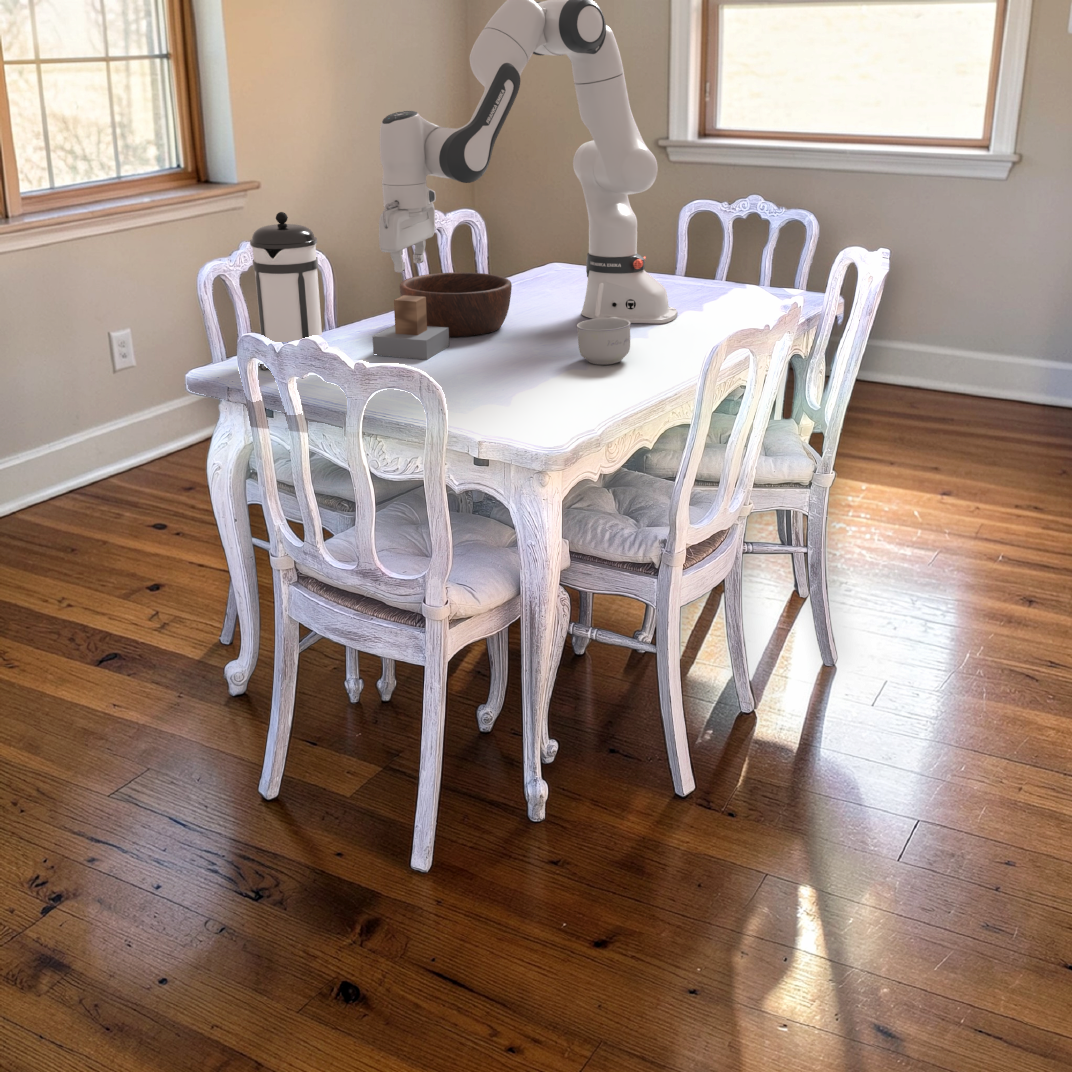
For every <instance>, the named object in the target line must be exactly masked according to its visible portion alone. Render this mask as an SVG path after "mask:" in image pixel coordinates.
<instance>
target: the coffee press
mask: <svg viewBox="0 0 1072 1072" xmlns="http://www.w3.org/2000/svg"><path fill="white" fill-rule="evenodd" d="M275 219H276V221H277V223H278V224H268V225H264V226H262V227H259V228H257V229H256V230H254V232H253V234H252V238H251V239H250V240H249V245H250V247H251V248H252V256H253V259H252V268H253V269H252V270H253V271H254V277H255V287H256V297H257V307H258V308H257V309H258V319H259V329H260V336H261V335H264V336H265V337H267V338H269V339H270V340H272V341H275V342H288V341H292V340H299V339H302V338H305V337H309V336H312V335H322V336H323V330H322V329H323V328H322V318H321V317H322V316H321V315H322V314H321V303H320V302H321V301H320V291H319V289H320V287H319V278H318V277H319V275H318V268H319V262H318V260H319V259H318V256H317V251H316V250H317V249H316V246H317V244H318V238H317V237H316V236H315V234H314V232H313V231H312V230H311V229H310V228H309V227H307V226H306V225H305V226H304V225H301V224H297V223H296V224H295V223H294V224H293V223H286V222H287V221H288V215H287V213H285V212H283V211H279V212H278V213H277V214H276V215H275ZM263 365H264V363H263V364H260V366H258V368H259V369H260V370H262V371H267V370H268V369H267V368H266V367H265V366H264V367H263Z"/></svg>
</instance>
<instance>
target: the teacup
mask: <svg viewBox="0 0 1072 1072" xmlns="http://www.w3.org/2000/svg"><path fill="white" fill-rule="evenodd" d="M631 324H632V323H630V321H628V320H625V319H619V318H618V317H611V318H598V319H592V318H591V319H586V320H583V321H579V322H578V323H577V324H576V329H577V330H576V331H577V343H578V351H579V353H580V355H581V357H582V358H584V359H585V360H586V361H587V362H588V363H590V364H593V365H601V366H602V365H604V366H605V365H613V364H617V363H619V362H621V361H622V360H623V359H624V358H625V357H626V356H627V355H628V354H629V352H630V349H631Z"/></svg>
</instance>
